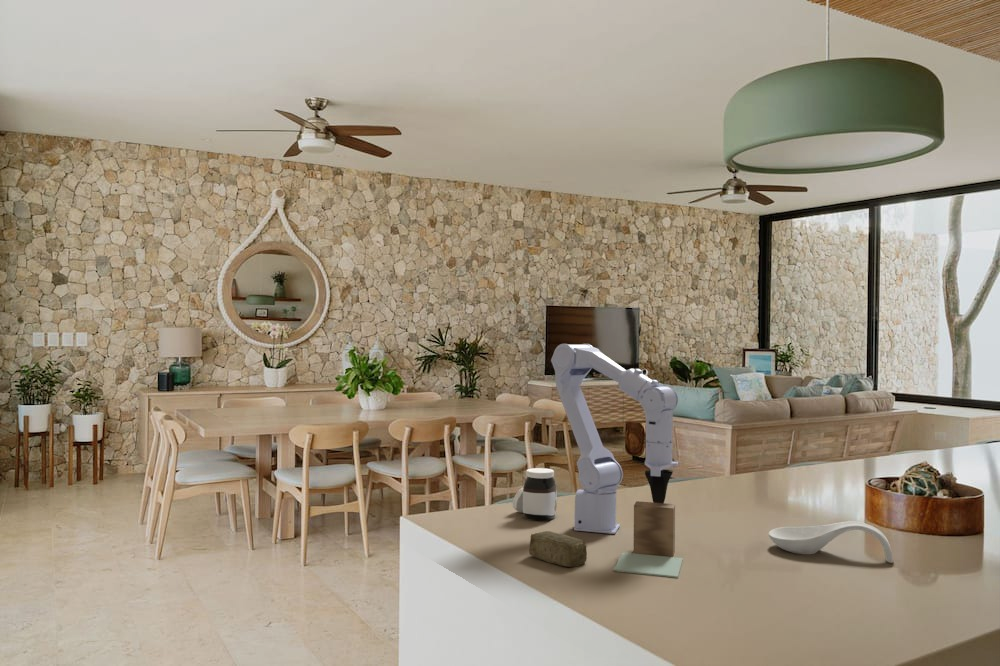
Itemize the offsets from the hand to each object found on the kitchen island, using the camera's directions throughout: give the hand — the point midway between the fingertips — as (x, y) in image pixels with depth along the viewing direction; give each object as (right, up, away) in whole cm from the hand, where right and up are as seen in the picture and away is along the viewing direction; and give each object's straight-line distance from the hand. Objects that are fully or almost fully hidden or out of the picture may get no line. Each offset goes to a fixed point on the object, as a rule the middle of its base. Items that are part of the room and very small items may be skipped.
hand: (658, 503), depth 161 cm
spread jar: (-26, -9, +23) cm, 36 cm away
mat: (-5, -8, -16) cm, 19 cm away
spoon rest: (+34, -9, -7) cm, 36 cm away
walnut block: (-3, -8, -8) cm, 12 cm away
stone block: (-23, -9, -13) cm, 28 cm away
